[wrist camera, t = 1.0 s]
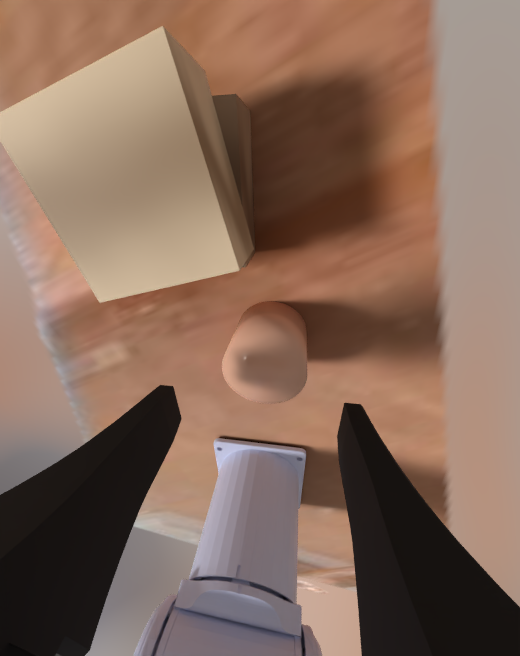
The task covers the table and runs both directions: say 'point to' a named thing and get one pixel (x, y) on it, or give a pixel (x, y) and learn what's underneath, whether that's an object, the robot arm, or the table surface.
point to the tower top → (133, 169)
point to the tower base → (238, 151)
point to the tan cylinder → (267, 354)
